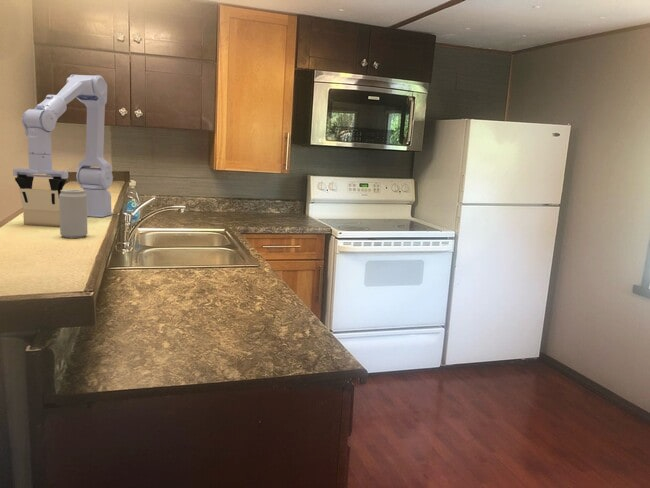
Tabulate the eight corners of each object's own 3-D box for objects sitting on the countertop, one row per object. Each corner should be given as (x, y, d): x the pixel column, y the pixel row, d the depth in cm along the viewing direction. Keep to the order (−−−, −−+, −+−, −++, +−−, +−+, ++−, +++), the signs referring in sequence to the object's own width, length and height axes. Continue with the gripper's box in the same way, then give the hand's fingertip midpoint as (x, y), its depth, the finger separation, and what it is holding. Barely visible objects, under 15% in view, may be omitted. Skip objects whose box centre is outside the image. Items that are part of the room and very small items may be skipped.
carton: (35, 221, 160) (35, 206, 159) (72, 223, 160) (72, 208, 159) (23, 224, 154) (23, 208, 153) (62, 226, 154) (61, 211, 153)
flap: (20, 188, 151) (19, 188, 151) (57, 190, 151) (56, 190, 150) (23, 208, 153) (23, 209, 153) (60, 210, 153) (60, 211, 153)
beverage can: (92, 235, 144) (91, 189, 141) (79, 239, 137) (77, 191, 135) (69, 233, 144) (67, 188, 142) (55, 237, 138) (53, 190, 136)
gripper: (5, 152, 147) (7, 202, 149) (58, 155, 146) (59, 206, 149) (20, 152, 154) (23, 200, 156) (71, 155, 153) (72, 203, 156)
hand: (41, 203), depth 153 cm, fingers open, 7 cm apart
